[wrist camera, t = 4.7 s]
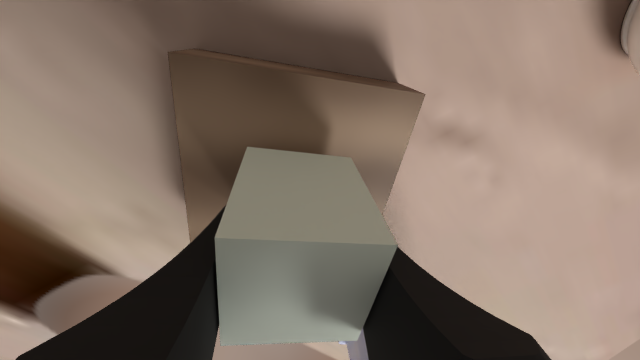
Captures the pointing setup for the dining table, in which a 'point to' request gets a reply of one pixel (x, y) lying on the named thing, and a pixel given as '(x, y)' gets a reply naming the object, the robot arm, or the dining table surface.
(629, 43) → the lidded jar
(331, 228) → the sage block
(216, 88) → the walnut box
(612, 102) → the dining table surface
